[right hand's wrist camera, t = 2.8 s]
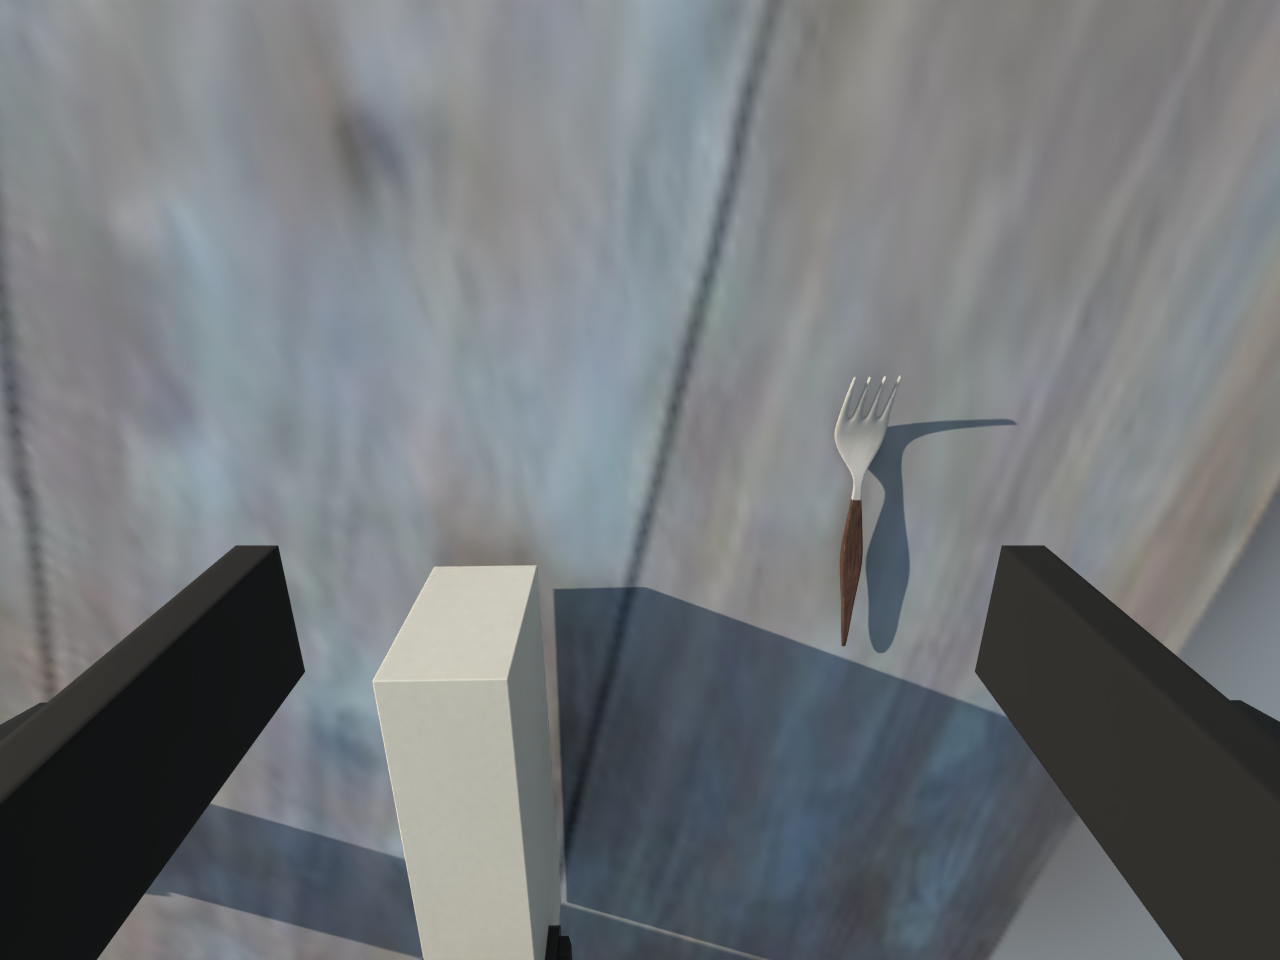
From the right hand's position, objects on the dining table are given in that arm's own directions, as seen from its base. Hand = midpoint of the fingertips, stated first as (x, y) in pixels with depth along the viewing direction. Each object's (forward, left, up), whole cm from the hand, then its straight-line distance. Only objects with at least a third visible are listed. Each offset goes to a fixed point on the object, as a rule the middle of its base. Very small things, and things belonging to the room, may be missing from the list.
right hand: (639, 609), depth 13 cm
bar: (+14, +20, -21) cm, 32 cm away
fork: (-9, +11, -23) cm, 27 cm away
